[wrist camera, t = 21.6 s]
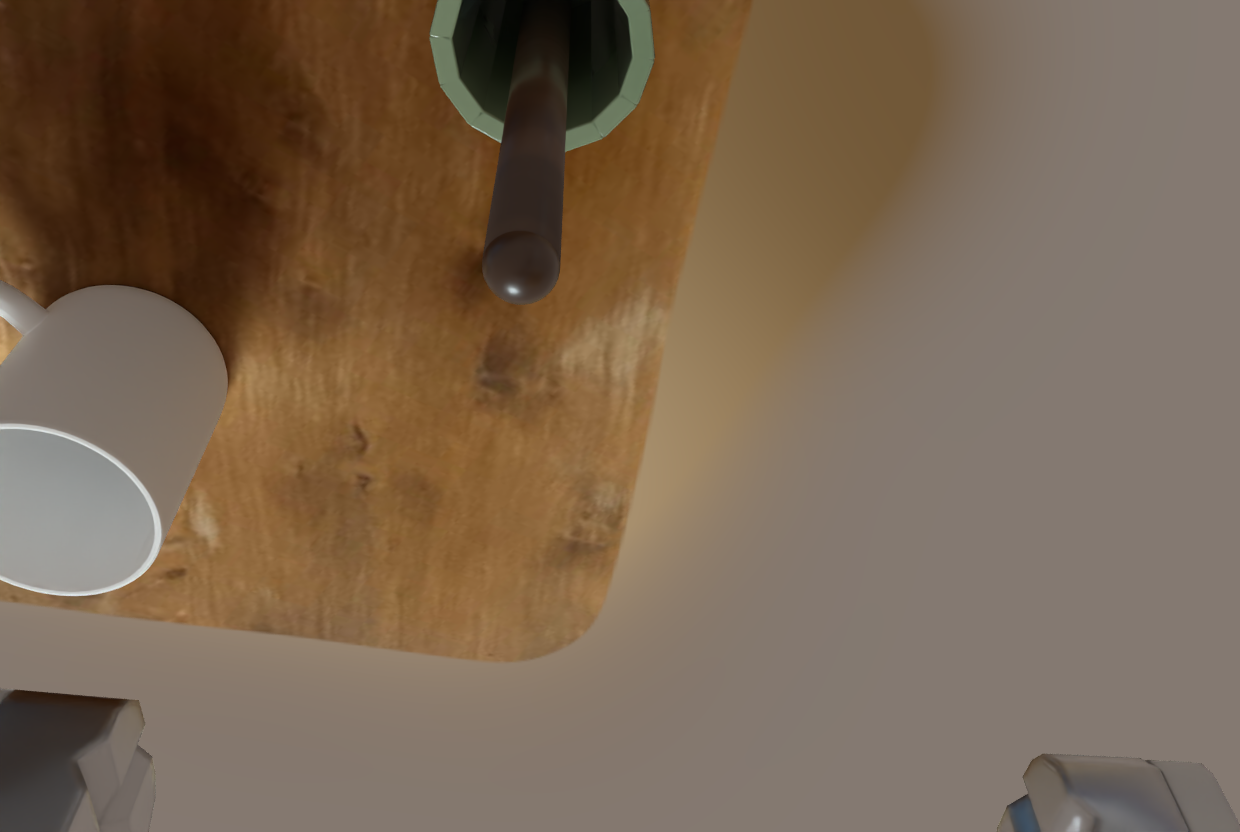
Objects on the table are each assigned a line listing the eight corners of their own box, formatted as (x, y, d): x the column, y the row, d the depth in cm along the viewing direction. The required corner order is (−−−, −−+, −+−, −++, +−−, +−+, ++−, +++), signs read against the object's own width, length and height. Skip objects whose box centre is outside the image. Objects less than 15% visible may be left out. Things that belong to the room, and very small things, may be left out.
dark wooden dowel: (535, -94, 38) (481, 219, 19) (576, -89, 38) (565, 226, 19) (530, -21, 40) (476, 339, 20) (570, -17, 40) (553, 345, 21)
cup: (145, 466, 53) (62, 627, 44) (-83, 283, 47) (-227, 429, 38) (272, 378, 50) (210, 532, 42) (47, 173, 44) (-77, 304, 36)
